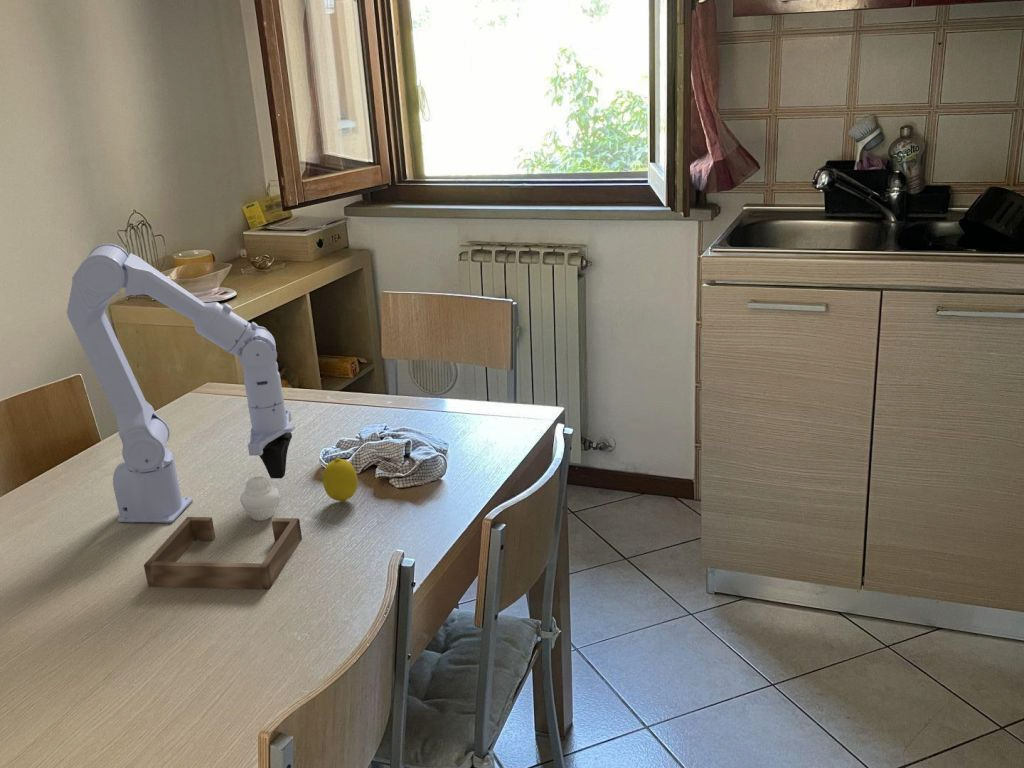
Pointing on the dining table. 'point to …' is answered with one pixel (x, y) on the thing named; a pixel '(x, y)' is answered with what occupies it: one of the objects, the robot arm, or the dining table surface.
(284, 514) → the dining table surface
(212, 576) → the brown wooden u-shaped frame
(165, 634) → the dining table surface
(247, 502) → the muffin
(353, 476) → the lemon
